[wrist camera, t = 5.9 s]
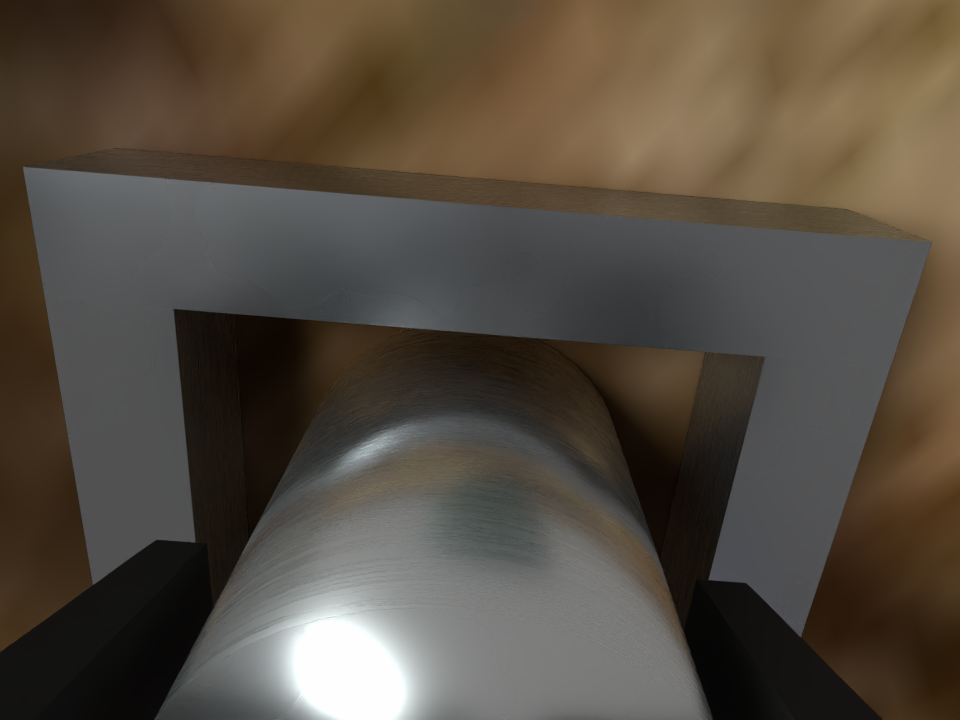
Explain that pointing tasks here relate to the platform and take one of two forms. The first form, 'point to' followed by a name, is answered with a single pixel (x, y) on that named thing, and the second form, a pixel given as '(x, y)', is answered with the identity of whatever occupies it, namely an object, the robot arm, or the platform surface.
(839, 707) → the robot arm
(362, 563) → the shiny metal cylinder
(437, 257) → the grey rectangular frame
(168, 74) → the platform surface
